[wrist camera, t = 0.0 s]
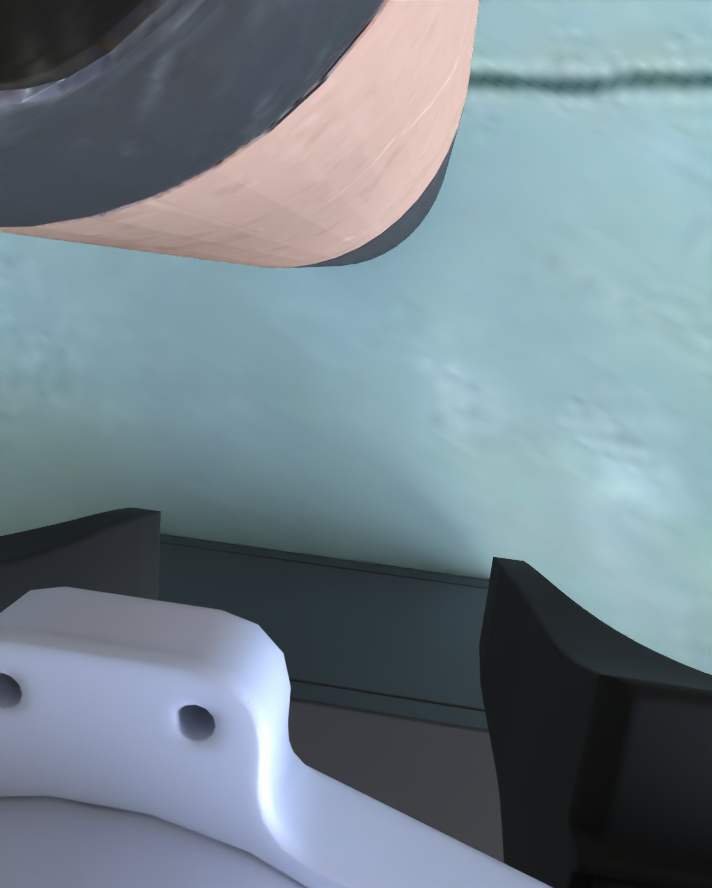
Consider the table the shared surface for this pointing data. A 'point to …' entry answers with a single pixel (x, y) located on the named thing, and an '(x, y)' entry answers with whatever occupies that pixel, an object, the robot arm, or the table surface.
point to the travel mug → (230, 123)
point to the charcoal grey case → (367, 672)
